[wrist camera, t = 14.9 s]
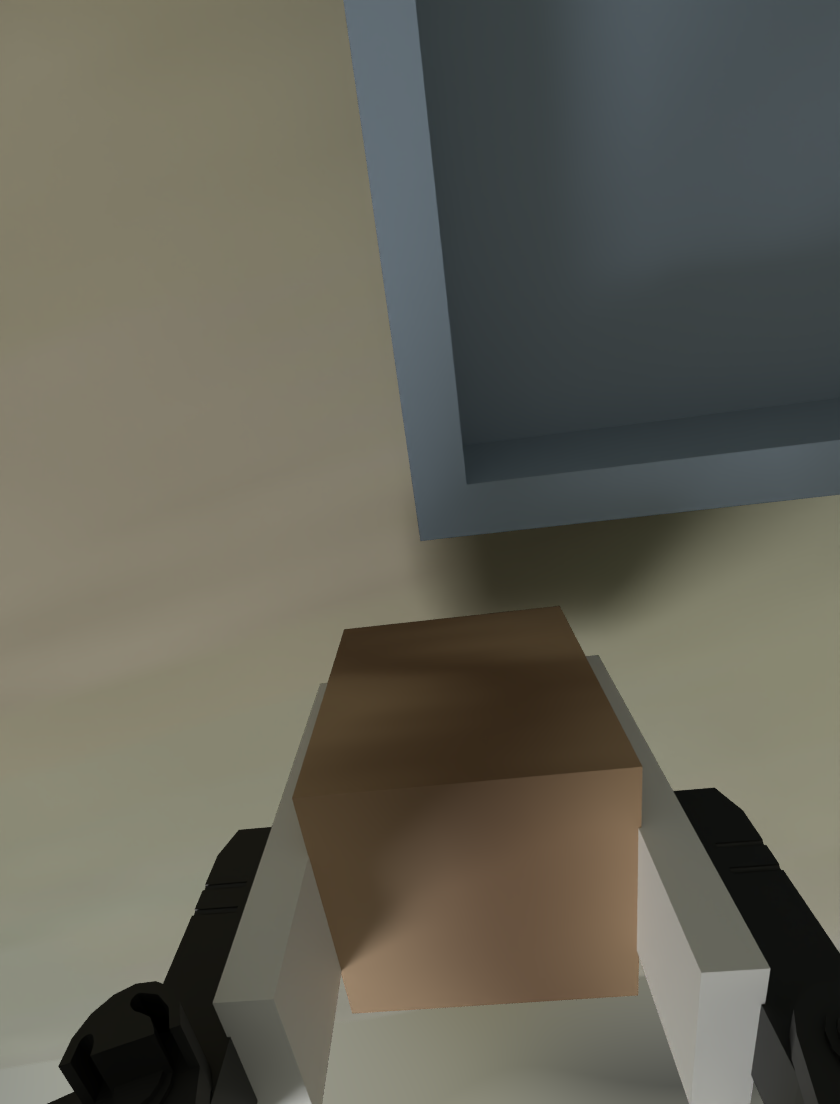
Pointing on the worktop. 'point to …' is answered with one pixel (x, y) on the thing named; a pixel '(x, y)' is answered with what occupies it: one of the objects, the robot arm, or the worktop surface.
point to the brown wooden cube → (473, 816)
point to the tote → (606, 252)
